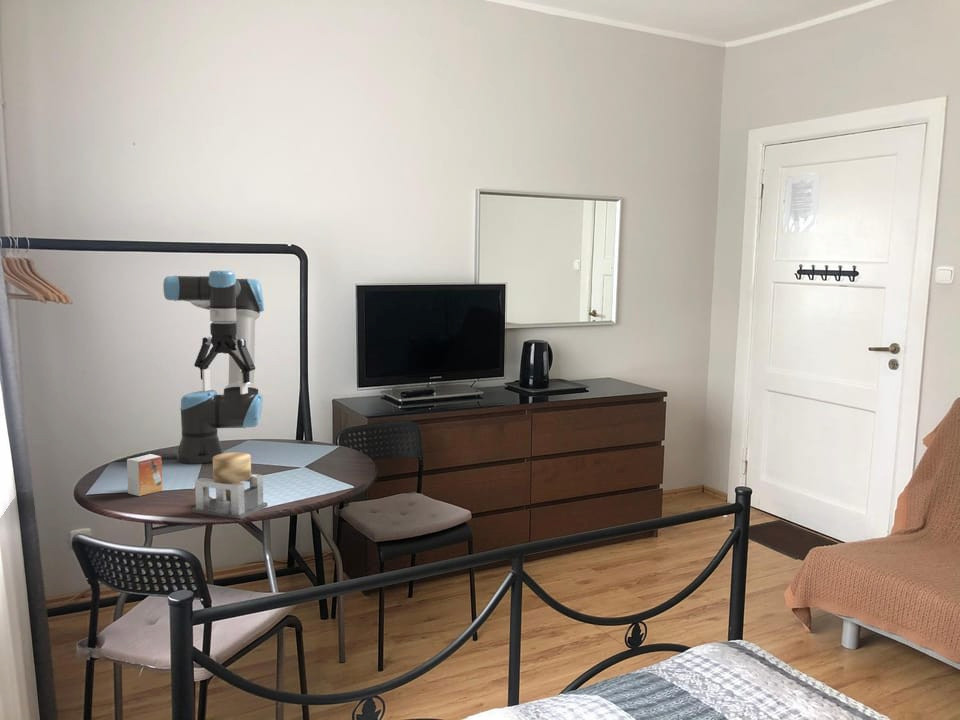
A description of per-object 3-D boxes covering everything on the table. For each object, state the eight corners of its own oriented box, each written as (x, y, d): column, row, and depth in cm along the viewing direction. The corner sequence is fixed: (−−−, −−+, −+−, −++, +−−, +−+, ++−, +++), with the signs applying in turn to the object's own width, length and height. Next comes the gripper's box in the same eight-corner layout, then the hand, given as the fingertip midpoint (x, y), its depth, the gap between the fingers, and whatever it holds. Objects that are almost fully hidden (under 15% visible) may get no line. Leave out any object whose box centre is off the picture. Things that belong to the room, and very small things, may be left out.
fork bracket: (191, 512, 215) (190, 480, 214) (220, 499, 226) (219, 469, 225) (241, 519, 210) (240, 486, 209) (267, 506, 221) (266, 475, 220)
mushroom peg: (206, 502, 214) (204, 459, 213) (229, 492, 224) (228, 451, 222) (236, 506, 211) (235, 462, 209) (259, 496, 220) (258, 454, 219)
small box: (139, 497, 228) (137, 461, 226) (127, 493, 231) (126, 458, 229) (163, 490, 235) (162, 456, 233) (151, 487, 237) (150, 453, 236)
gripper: (180, 321, 236) (183, 391, 239) (250, 324, 228) (252, 396, 231) (197, 319, 243) (199, 387, 246) (266, 323, 235) (267, 392, 238)
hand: (225, 392), depth 238 cm, fingers open, 13 cm apart
